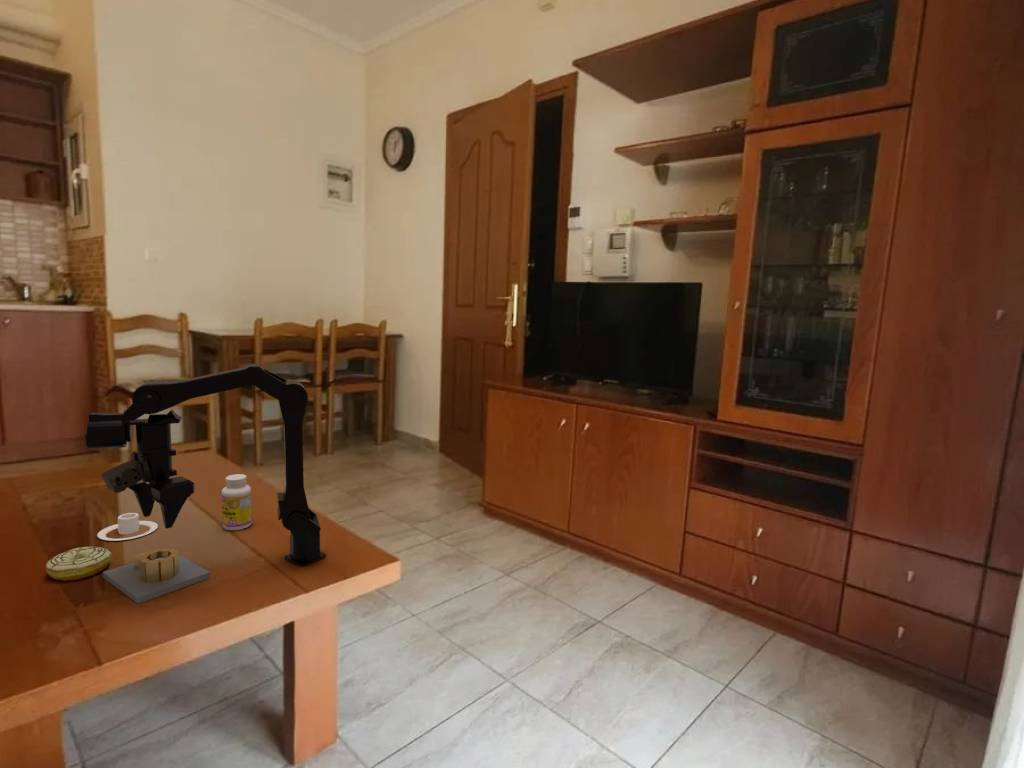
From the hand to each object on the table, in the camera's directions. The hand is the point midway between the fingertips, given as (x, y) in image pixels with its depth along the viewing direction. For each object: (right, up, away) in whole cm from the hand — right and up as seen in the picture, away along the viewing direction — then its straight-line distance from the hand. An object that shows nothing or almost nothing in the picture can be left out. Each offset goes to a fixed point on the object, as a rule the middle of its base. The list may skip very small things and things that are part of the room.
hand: (157, 521), depth 110 cm
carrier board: (-1, -12, +2) cm, 12 cm away
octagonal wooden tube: (0, -11, +1) cm, 11 cm away
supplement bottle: (+1, -8, +29) cm, 30 cm away
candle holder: (-22, -9, +23) cm, 33 cm away
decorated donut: (-18, -11, +4) cm, 22 cm away
